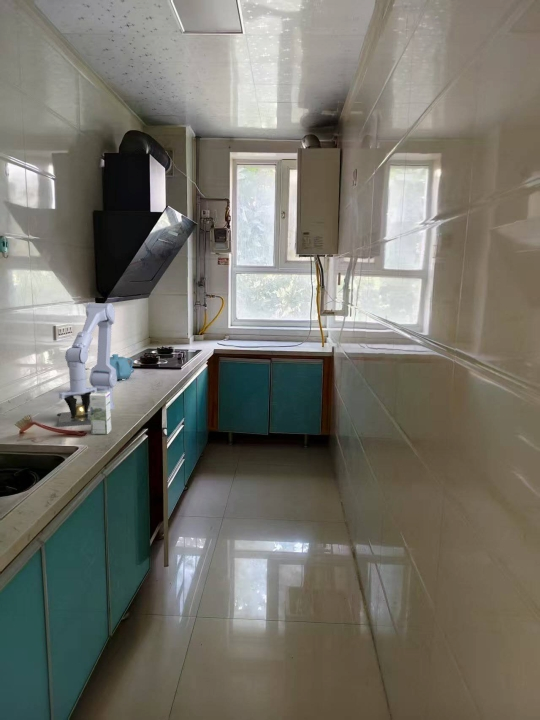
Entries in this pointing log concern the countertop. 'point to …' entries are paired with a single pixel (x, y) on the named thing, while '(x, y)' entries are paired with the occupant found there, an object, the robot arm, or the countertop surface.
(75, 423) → the steel plate
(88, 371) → the medicine bottle
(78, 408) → the hub peg
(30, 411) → the countertop surface
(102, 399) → the syrup box
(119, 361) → the decorative pot
